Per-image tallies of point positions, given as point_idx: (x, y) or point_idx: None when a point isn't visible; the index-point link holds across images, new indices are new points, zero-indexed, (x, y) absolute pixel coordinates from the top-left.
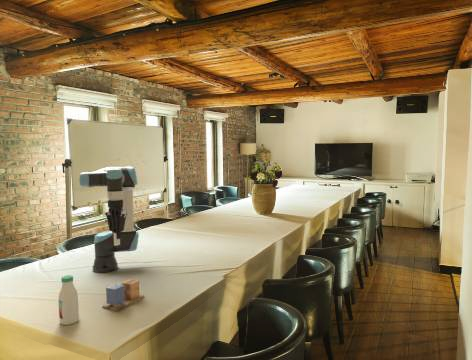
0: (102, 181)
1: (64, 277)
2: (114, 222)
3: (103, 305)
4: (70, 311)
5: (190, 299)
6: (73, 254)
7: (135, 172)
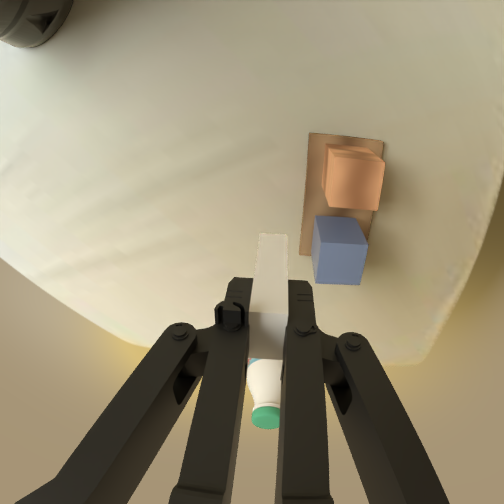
0: None
1: (263, 426)
2: (234, 460)
3: (300, 252)
4: None
5: None
6: None
7: None
